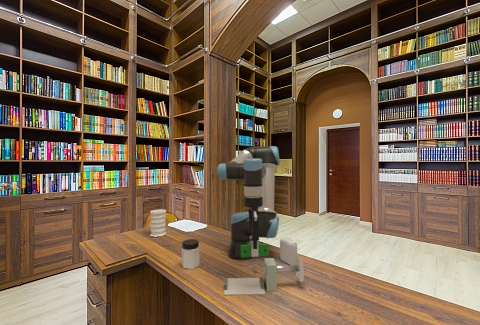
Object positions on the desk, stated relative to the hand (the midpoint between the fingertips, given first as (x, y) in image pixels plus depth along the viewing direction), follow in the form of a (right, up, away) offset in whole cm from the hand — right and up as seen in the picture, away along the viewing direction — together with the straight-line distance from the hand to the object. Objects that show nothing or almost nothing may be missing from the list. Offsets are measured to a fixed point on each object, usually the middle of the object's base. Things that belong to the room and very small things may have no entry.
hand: (254, 253), depth 89 cm
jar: (-31, -15, +21) cm, 40 cm away
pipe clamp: (0, -1, 0) cm, 1 cm away
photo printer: (+19, -15, +24) cm, 34 cm away
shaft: (+12, -11, +2) cm, 16 cm away
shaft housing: (+7, -14, +2) cm, 16 cm away
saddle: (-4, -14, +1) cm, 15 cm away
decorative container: (-65, -16, +69) cm, 96 cm away
